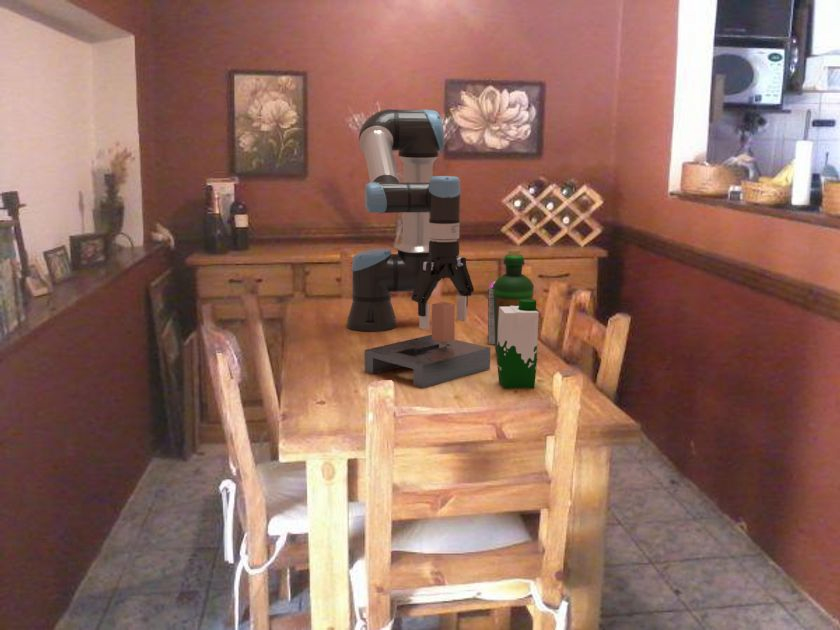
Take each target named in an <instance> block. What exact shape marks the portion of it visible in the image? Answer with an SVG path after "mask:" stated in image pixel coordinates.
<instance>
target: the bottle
mask: <svg viewBox="0 0 840 630" xmlns="http://www.w3.org/2000/svg"><path fill="white" fill-rule="evenodd" d="M507 252H508V254H505V255H504V259H503V265H505V273H504V274H503V275H501V276H500V277H498V278H497V279H496V280H495V281H496V282H495V283H494V285H493V297H494V325H495V345H494V347H495V348H494V350H495V351H494V353H495V354H496V355H497V340H498V317H499V307H510V306H519V300H520V299H534V288H535V285H534V283H533V282H532V280H531V279H530V278H529V277H528V276H526V275H525V274H523V273H522V272H523V266H524V265H525V257H524V255H523V254H521V253H522V251H521V250H520V249H508V250H507Z"/></svg>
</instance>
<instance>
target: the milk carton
mask: <svg viewBox="0 0 840 630" xmlns="http://www.w3.org/2000/svg"><path fill="white" fill-rule="evenodd" d="M539 317H540V313H539V311H538V308H537V300H536V299H534V298H533V299H520V300H519V306H510V307H499V317H498V340H497V354H496V364H497V373H498V375H497V376H498V381H499V383H500V384H501V385H502V387H503V389H535V385H536V378H537V377H536V375H537V367H538V364H537V363H538V335H539V334H538V333H539V332H538V331H539Z"/></svg>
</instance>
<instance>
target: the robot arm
mask: <svg viewBox="0 0 840 630" xmlns="http://www.w3.org/2000/svg"><path fill="white" fill-rule="evenodd" d="M443 125H444V124H443V121H442V117H441V115H440V113H439V112H438V111H436V110H432V109H423V108H422V109H421V108H420V109H415V108H414V109H413V108H412V109H391V108H390V109H387V108H386V109H383V110H382V109H381V110H380V111H377V112H375V113H373V114H372V115H370V116H369V117H368V118H367V119H366V120H365V122H364V123H363V124H362V125H361V127H360V130H359V132H358V133H359V134H358V144H359V147H360V150H361V151H362V153H363V154H364V155H365V156H364V158H365V162H366V167H367V174H368V177H369V182H368V183H366V184H365V187H364V205H365V206H364V207H365V210H366V211H367V212H369V213H377V214H378V213H379V214H387V213H388V214H392V213H394V214H395V213H399V214H400V213H403V214H402V243H401V244H400V245H399V246H397V253H392V251H391V249H389V248H376V249H375V248H374V249H368V250H362V251H360V252H357V253H355V255H354V256H353V257H352V263H351V264H352V265H351V272H352V274H351V275H352V286H351V287H352V302H351V306H350V310H349V314H348V316H347V319H346V326H347V327H346V328H348V329H350V330H353V331H360V332H381V331H388V330H393V329H395V328H396V327H397V316H396V315H395V311H394V307H393V305H392V299H391V297H392V296H391V294H392V293H401V292H402V293H405V292H407V293H409V292H411V293H412V292H413V293H412V295H411V301H414V302H416V303H417V315H418V317H419V324H418V325H419V326H418V327H419V329H422V330H427V331H428V330H430V318H431V317H430V307H431V306H430V303H429V302H428V301H429V299H430V297H431V295H432V294H433V291H434V290H435V289H436V288H437V287H438V284H439V282H440V281H441V280H442V279H443V280H444V279H446V278H449V279H450V281H451V283H452V284H453V285H454V287H455V290H456V291H457V292H458V294H456V321H460V322H464V323H465V322H467V309H468V301H469V300H468V299H469V297H471V296H472V293H474V291H475V288H474V286H473V282H472V279H471V276H470V273H469V271H468V267H467V258H466V257H464V256H462V257H461V256H460V241H459V240H458V239H460V222H461V221H460V220H461V218H460V217H461V216H460V214H461V213H460V212H461V210H460V208H461V192H462V189H461V181H460V177H458V176H453V175H451V176H450V175H436V176H433V175H434V173H433V172H434V171H433V170H434V169H433V167H434V166H433V165H434V162H435V161H437V159H438V158H439V152H442V151H443V150H444V149H445V132H444V126H443ZM394 151H398V158H400V160H401V161H402V163H403V182H400V178H399V174H398V170H397V164H396V161H395V157H394V153H393V152H394Z"/></svg>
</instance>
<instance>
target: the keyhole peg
mask: <svg viewBox="0 0 840 630" xmlns="http://www.w3.org/2000/svg"><path fill="white" fill-rule="evenodd" d="M455 307H456V304H455V303H450V302H445V301H440V302H435V303H431V335H432V339H433V340H437V341H439V348H442V347H446V346H447V341H449V340H453V339H455V322H456V321H455V316H456V314H455V311H456V309H455Z"/></svg>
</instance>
